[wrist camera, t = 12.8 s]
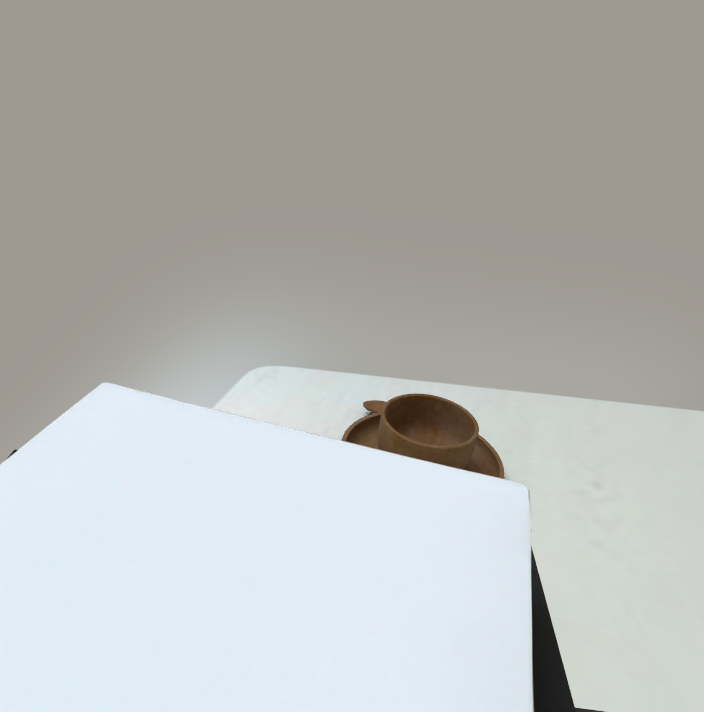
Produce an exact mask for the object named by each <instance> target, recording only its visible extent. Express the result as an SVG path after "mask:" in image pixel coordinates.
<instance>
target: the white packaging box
mask: <svg viewBox="0 0 704 712" xmlns="http://www.w3.org/2000/svg"><path fill="white" fill-rule="evenodd" d="M0 712H534V698H533V668H532V601H531V518H530V492H529V489H528V488H527V487H526V486H524V485H523V484H521V483H517V482H513V481H509V480H505V479H501V478H497V477H493V476H488V475H484V474H480V473H475V472H471V471H466V470H462V469H457V468H453V467H448V466H444V465H440V464H436V463H432V462H428V461H423V460H419V459H415V458H410V457H406V456H402V455H398V454H394V453H390V452H386V451H382V450H378V449H373V448H369V447H365V446H361V445H357V444H353V443H349V442H345V441H341V440H337V439H332V438H328V437H324V436H320V435H316V434H312V433H308V432H304V431H300V430H296V429H291V428H287V427H283V426H279V425H275V424H271V423H267V422H263V421H259V420H255V419H251V418H247V417H242V416H238V415H234V414H230V413H226V412H222V411H218V410H214V409H210V408H205V407H202V406H197V405H193V404H189V403H185V402H181V401H177V400H174V399H170V398H166V397H162V396H158V395H154V394H151V393H147V392H143V391H139V390H135V389H130V388H127V387H123V386H119V385H115V384H112V383H102V384H100V385H99V386H98V387H97V388H95V389H94V390H93V391H92V392H90V393H89V394H88V395H87V396H85V397H84V398H83V399H81V400H80V401H79V402H78V403H76V404H75V405H74V406H72V407H71V408H70V409H69V410H67V411H66V412H65V413H64V414H63V415H61V416H60V417H59V418H57V419H56V420H55V421H54V422H52V423H51V424H50V425H49V426H47V427H46V428H45V429H44V430H42V431H41V432H40V433H39V434H37V435H36V436H35V437H34V438H32V439H31V440H30V441H29V442H28V443H26V444H25V445H24V446H23V447H22V448H20V449H19V450H18V451H17V452H15V453H14V454H13V455H12V456H10V457H9V458H8V459H6V460H5V461H4V462H3V463H2V464H0Z"/></svg>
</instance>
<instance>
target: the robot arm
mask: <svg viewBox="0 0 704 712" xmlns="http://www.w3.org/2000/svg"><path fill="white" fill-rule="evenodd" d="M17 451H18V450H14V451H13V452H12V453H11V455H10V456H12V455H13V454H14V453H15V452H17ZM10 456H9V457H10ZM9 457H8V458H9ZM8 458H7V459H8ZM531 601H532V668H533V698H534V712H603V711H596V710H588V709H581V708H575V707H574V703H573V700H572V696H571V692H570V689H569V685H568V681H567V677H566V674H565V670H564V666H563V662H562V659H561V655H560V651H559V648H558V644H557V640H556V636H555V633H554V629H553V625H552V622H551V618H550V614H549V610H548V607H547V603H546V599H545V596H544V592H543V588H542V584H541V581H540V577H539V573H538V569H537V566H536V562H535V558H534V555H533V551H532V547H531Z"/></svg>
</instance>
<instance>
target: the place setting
mask: <svg viewBox="0 0 704 712" xmlns="http://www.w3.org/2000/svg"><path fill="white" fill-rule="evenodd" d="M363 406H364V407H365V408H366V409H367V410H369V411H371V412H373V413H374V414H371V415H368V416H365V417H363V418H361V419H359V420H357V421H356V422H354V423H353V424H352V425H351V426H350V427H349V428H348V429H347V430H346V431H345V433H344V435H343V438H342V441H345V442H349V443H353V444H357V445H361V446H365V447H369V448H373V449H378V450H382V451H386V452H390V453H394V454H398V455H402V456H406V457H410V458H415V459H419V460H423V461H428V462H432V463H436V464H440V465H444V466H448V467H453V468H457V469H462V470H466V471H471V472H475V473H480V474H484V475H488V476H493V477H497V478H501V479H504V468H503V464H502V461H501V459H500V457H499V455H498V454H497V452H496V451H495V450H494V448H493V447H492V446H491V445H490V444H489V443H488V442H487V441H486V440H485V439H484V438H482V437H481V436H480V435H478V432H479V427H478V423H477V422H476V420H475V418H474V417H473V416H472V415H471V414H470V413H469V412H468V411H467V410H466V409H464V408H463V407H461V406H460V405H458V404H456V403H454V402H452V401H450V400H447V399H444V398H441V397H437V396H433V395H427V394H406V395H401V396H397V397H395V398H393V399H391V400H389V401H388V402H384V401H376V400H374V401H366V402H364V403H363Z"/></svg>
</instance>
